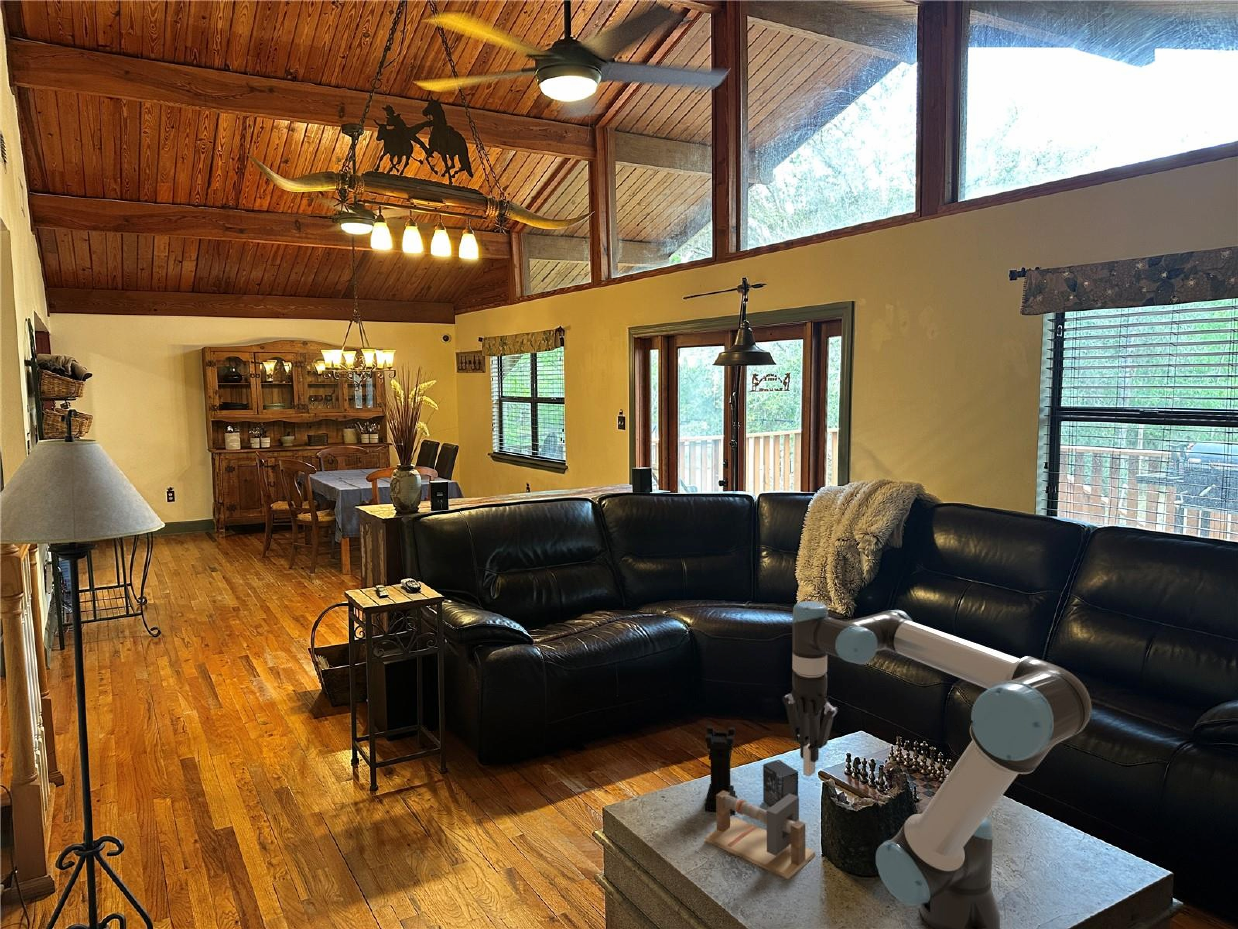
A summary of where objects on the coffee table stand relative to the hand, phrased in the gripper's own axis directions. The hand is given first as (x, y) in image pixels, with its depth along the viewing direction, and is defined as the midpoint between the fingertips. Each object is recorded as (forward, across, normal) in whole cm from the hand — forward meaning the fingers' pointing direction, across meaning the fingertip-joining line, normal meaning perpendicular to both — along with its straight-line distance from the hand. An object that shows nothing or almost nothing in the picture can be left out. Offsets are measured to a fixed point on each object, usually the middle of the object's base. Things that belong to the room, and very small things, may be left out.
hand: (809, 773), depth 177 cm
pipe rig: (+23, +13, 0) cm, 27 cm away
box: (+23, +20, -20) cm, 36 cm away
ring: (+20, +7, 0) cm, 21 cm away
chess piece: (+23, +32, -10) cm, 41 cm away
